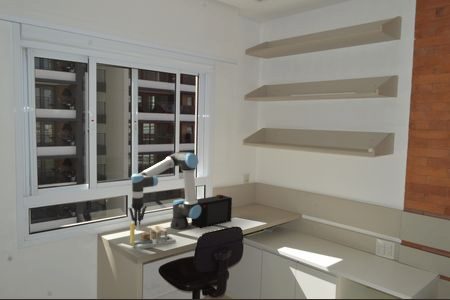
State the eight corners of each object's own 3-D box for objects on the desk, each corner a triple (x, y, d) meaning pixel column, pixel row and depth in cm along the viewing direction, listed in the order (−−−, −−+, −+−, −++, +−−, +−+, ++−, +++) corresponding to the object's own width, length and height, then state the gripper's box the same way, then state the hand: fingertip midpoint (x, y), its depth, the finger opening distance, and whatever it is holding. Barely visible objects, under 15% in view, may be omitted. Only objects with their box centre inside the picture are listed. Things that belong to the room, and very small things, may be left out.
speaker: (189, 224, 296) (190, 197, 294) (219, 217, 320) (220, 192, 318) (200, 228, 285) (201, 200, 283) (231, 221, 309) (232, 195, 307)
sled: (148, 239, 248) (149, 219, 247) (152, 242, 243) (152, 221, 242) (129, 242, 240) (129, 221, 239) (132, 245, 234) (133, 224, 233)
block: (147, 238, 247) (147, 231, 246) (150, 240, 243) (150, 233, 242) (140, 239, 244) (140, 232, 243) (143, 241, 240) (143, 235, 239)
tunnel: (159, 236, 256) (160, 225, 256) (166, 241, 247) (167, 229, 246) (149, 238, 252) (150, 227, 251) (156, 243, 242) (156, 231, 241)
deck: (168, 237, 260) (168, 234, 260) (175, 242, 251) (175, 239, 251) (131, 244, 244) (131, 241, 244) (137, 249, 234) (137, 246, 234)
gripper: (144, 195, 244) (144, 227, 246) (126, 196, 236) (126, 230, 238) (148, 197, 238) (148, 230, 240) (130, 199, 230) (130, 233, 232)
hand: (137, 230), depth 239 cm, fingers closed
